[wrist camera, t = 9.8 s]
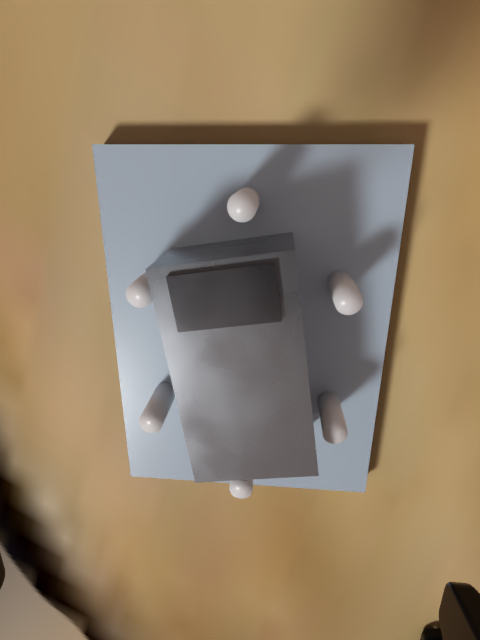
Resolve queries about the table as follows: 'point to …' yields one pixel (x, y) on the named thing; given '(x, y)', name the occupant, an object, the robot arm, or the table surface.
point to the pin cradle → (313, 273)
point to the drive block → (237, 357)
